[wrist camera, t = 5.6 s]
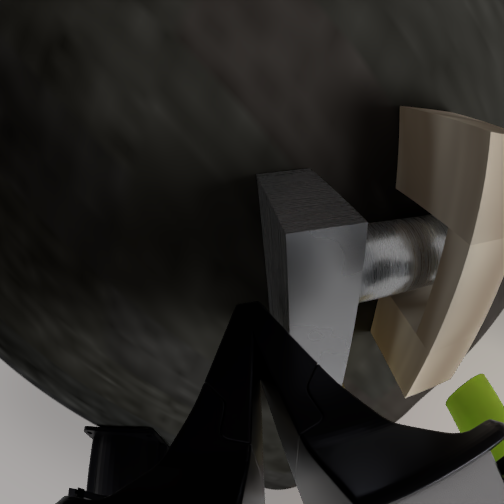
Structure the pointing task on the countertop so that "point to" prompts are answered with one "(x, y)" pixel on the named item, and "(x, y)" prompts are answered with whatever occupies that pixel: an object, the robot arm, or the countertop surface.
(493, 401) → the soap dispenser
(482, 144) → the block
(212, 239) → the countertop surface
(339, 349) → the grey block with shaft
